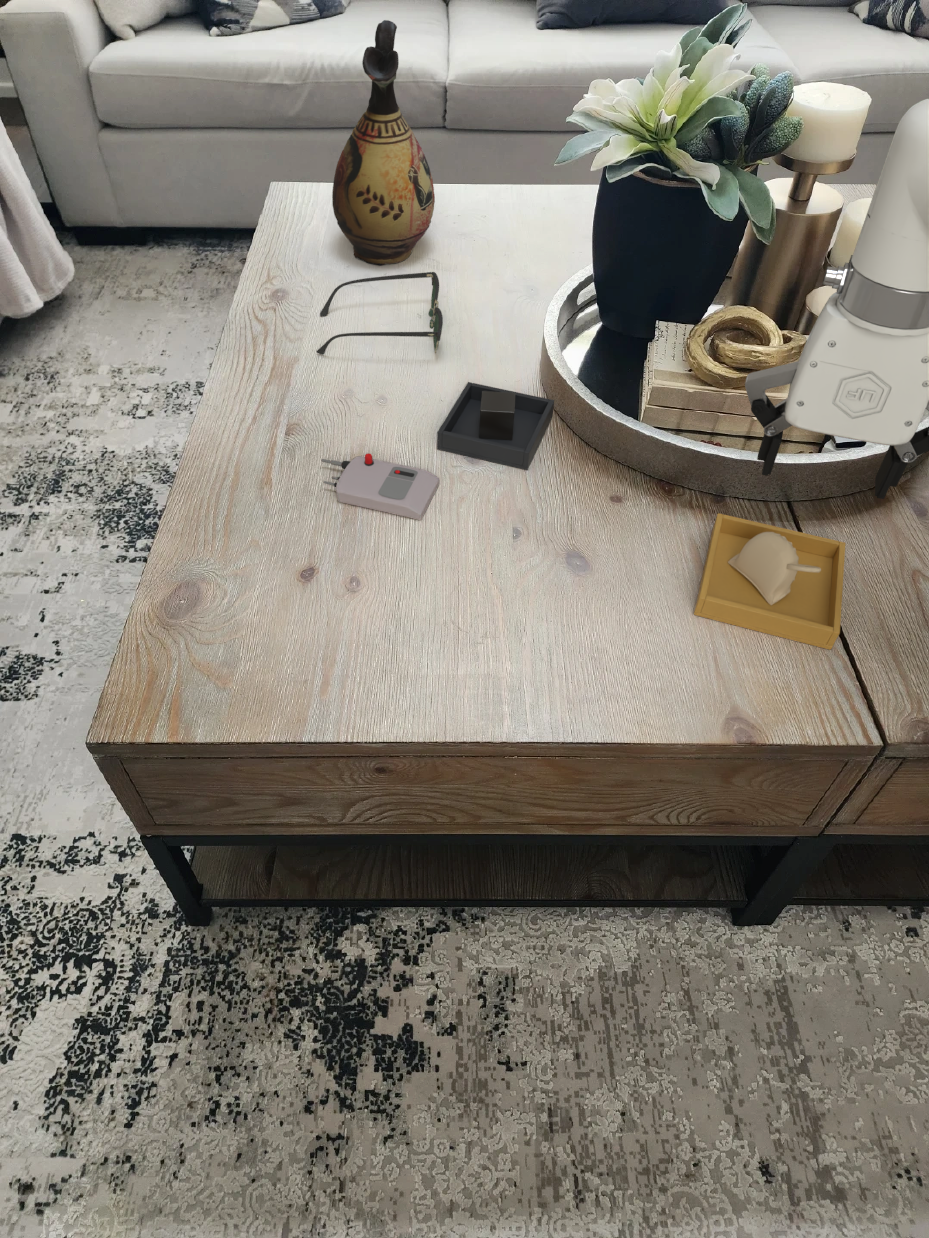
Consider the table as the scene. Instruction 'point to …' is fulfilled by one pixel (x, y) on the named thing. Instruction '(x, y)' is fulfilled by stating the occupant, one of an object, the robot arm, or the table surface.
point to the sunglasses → (433, 324)
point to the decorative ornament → (770, 565)
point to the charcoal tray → (519, 452)
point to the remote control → (385, 486)
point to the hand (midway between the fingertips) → (822, 477)
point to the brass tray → (797, 615)
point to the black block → (497, 415)
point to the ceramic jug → (383, 169)
